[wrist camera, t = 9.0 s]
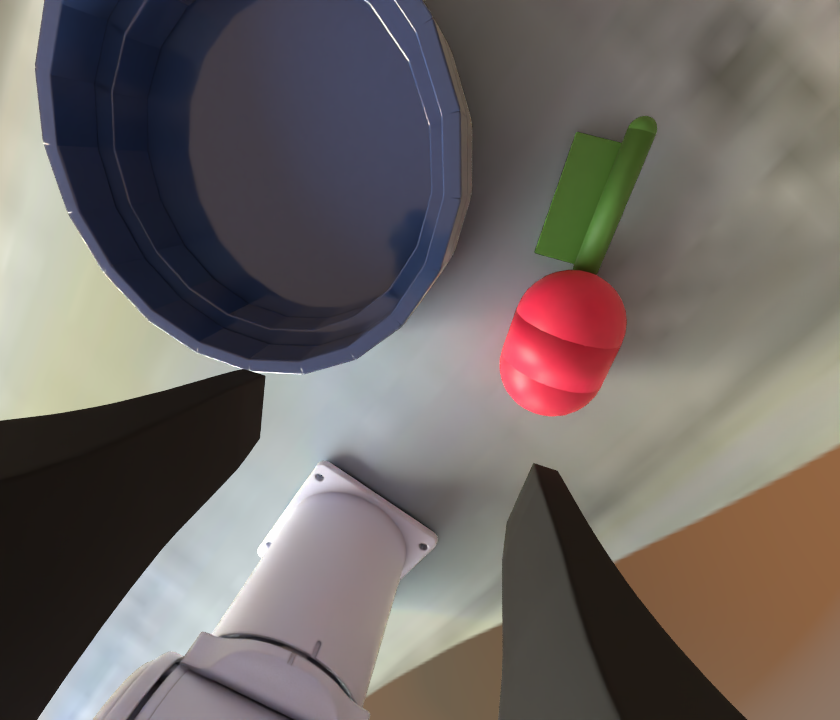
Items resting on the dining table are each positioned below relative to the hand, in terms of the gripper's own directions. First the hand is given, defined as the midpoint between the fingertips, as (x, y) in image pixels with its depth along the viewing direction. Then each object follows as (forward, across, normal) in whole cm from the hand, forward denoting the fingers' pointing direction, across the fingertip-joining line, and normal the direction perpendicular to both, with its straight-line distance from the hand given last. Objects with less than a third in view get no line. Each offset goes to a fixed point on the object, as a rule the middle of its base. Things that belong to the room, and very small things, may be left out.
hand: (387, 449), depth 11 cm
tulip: (+9, -5, -4) cm, 11 cm away
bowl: (+9, +8, -5) cm, 13 cm away
